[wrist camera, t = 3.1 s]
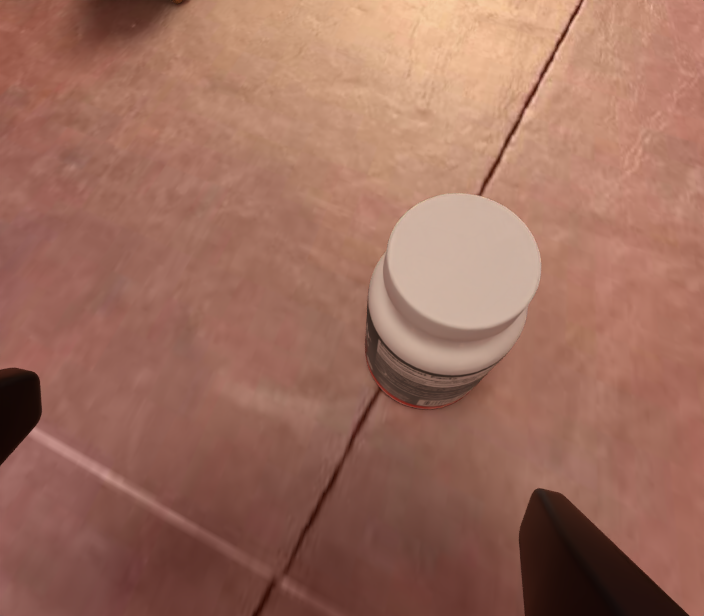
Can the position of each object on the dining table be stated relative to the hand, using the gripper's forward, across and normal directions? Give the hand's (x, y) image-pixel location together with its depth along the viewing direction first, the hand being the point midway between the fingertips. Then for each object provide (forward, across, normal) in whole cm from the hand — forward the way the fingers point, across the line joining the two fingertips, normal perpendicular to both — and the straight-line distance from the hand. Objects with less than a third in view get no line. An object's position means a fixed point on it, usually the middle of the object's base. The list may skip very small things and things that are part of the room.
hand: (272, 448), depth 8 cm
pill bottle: (+15, -3, +4) cm, 16 cm away
